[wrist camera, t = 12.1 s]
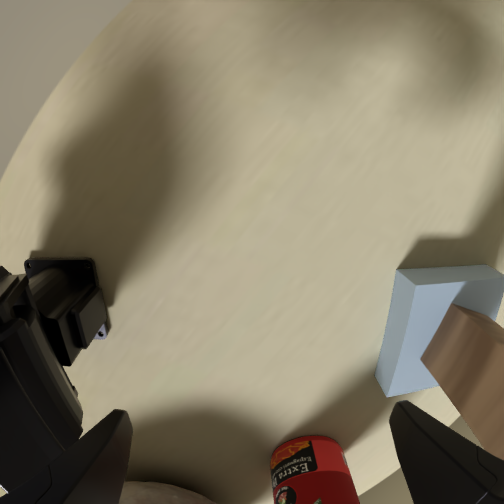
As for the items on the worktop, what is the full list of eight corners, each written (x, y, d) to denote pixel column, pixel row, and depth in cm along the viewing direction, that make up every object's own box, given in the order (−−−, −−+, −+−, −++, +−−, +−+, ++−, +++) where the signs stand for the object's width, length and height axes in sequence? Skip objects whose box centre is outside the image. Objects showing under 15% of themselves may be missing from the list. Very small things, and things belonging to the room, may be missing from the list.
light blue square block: (372, 372, 25) (386, 397, 22) (393, 267, 22) (415, 285, 19) (457, 355, 26) (474, 375, 23) (483, 262, 23) (507, 276, 20)
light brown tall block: (419, 359, 21) (505, 482, 9) (451, 302, 20) (566, 410, 7) (458, 366, 22) (539, 467, 9) (487, 315, 20) (587, 405, 8)
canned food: (298, 425, 26) (319, 524, 16) (356, 442, 28) (385, 524, 18) (254, 464, 28) (260, 551, 18) (311, 477, 30) (327, 553, 19)
